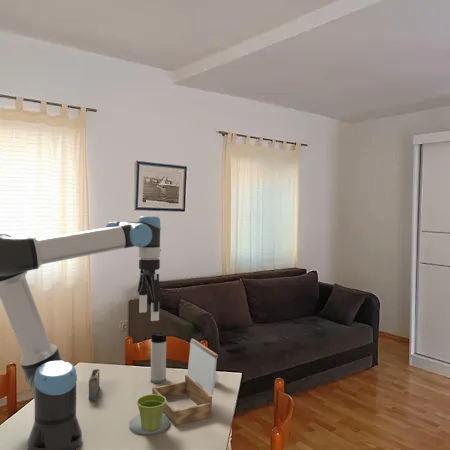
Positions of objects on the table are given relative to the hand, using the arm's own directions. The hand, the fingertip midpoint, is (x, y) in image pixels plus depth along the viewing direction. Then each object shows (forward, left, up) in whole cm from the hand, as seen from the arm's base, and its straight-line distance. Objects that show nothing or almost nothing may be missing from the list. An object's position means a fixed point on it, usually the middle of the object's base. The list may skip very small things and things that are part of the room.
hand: (148, 316), depth 161 cm
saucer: (-5, -17, -32) cm, 36 cm away
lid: (+17, -10, -17) cm, 26 cm away
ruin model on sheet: (-16, +16, -32) cm, 39 cm away
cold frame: (+9, -10, -32) cm, 34 cm away
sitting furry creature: (+28, +6, -32) cm, 43 cm away
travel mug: (+10, +17, -32) cm, 38 cm away
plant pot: (-6, -21, -31) cm, 38 cm away
